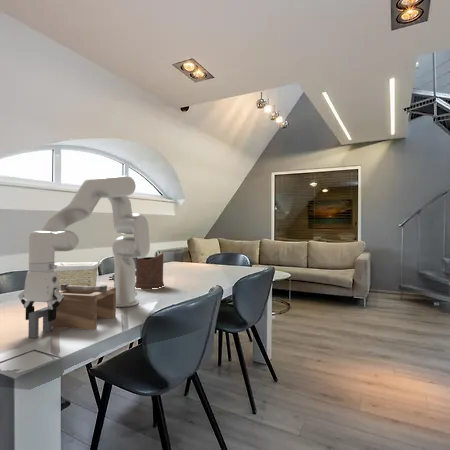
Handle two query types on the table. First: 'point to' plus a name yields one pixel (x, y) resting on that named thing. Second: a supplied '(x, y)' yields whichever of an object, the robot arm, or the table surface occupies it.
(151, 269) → the brown woven bin
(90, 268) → the storage basket
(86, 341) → the table surface
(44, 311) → the grey piece
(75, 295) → the stand
